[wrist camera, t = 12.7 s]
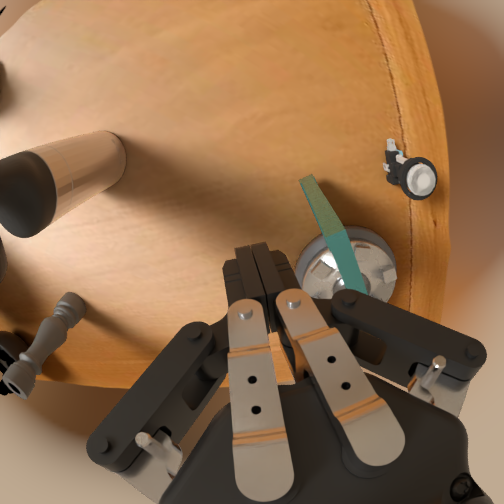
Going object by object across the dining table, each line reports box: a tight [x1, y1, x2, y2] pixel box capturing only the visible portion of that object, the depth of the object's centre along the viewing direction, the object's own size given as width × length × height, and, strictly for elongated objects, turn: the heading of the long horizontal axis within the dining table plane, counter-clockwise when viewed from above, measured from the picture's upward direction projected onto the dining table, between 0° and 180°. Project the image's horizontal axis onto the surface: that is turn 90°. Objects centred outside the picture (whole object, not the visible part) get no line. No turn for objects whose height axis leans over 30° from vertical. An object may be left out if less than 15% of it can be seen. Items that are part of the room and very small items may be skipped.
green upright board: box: [299, 174, 397, 303], centre depth 34 cm, size 26×15×19 cm, turn 27°
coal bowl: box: [0, 331, 29, 395], centre depth 55 cm, size 20×20×19 cm
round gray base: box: [294, 225, 396, 289], centre depth 45 cm, size 17×17×2 cm
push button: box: [383, 139, 437, 200], centre depth 33 cm, size 7×5×10 cm
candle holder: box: [2, 292, 86, 400], centre depth 42 cm, size 6×6×25 cm
